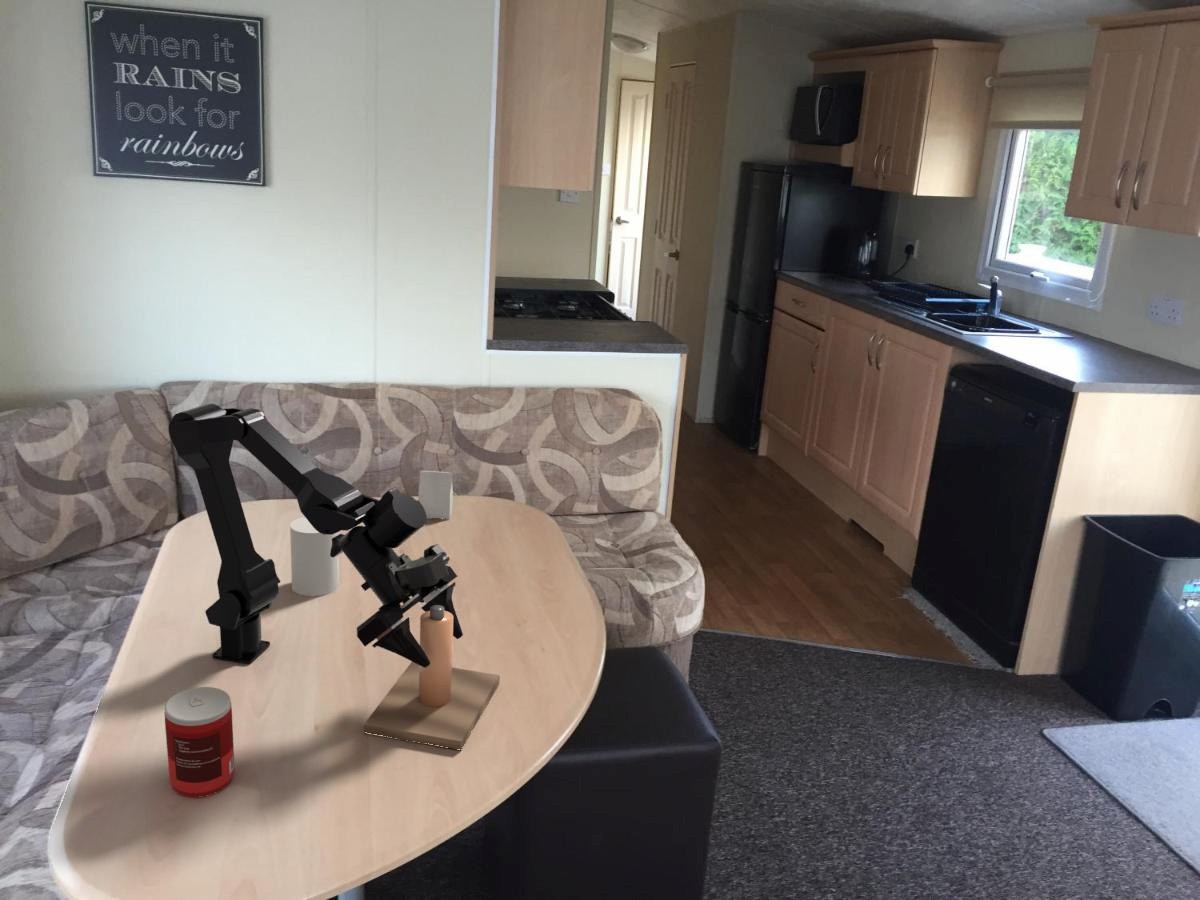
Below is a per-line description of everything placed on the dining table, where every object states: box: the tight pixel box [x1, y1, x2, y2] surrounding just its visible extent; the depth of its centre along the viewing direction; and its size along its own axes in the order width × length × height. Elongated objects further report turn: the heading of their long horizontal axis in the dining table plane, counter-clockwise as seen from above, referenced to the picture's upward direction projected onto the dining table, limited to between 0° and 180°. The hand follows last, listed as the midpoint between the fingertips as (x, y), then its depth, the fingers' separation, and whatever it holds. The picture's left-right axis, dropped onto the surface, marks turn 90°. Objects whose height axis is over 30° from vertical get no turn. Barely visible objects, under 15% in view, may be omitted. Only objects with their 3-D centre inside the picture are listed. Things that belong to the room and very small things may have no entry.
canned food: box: [164, 686, 235, 798], centre depth 124 cm, size 8×8×11 cm
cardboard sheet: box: [363, 661, 501, 751], centre depth 144 cm, size 18×14×2 cm
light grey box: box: [418, 470, 454, 520], centre depth 214 cm, size 4×7×10 cm, turn 90°
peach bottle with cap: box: [419, 605, 454, 707], centre depth 142 cm, size 5×5×14 cm
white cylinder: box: [289, 516, 340, 597], centre depth 177 cm, size 8×8×12 cm
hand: (444, 651), depth 141 cm, fingers open, 9 cm apart
